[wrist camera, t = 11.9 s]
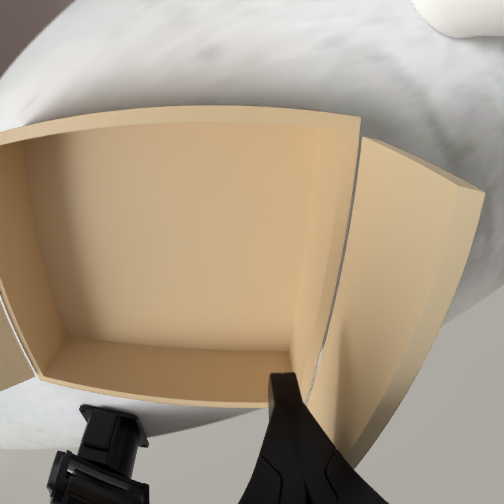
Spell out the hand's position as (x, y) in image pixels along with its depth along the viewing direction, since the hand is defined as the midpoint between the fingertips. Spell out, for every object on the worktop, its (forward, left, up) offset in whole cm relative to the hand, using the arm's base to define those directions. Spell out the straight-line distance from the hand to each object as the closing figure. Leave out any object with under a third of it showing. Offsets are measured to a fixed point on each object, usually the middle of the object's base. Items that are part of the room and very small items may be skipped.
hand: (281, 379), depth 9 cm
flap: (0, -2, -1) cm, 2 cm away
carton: (0, +6, -10) cm, 11 cm away
